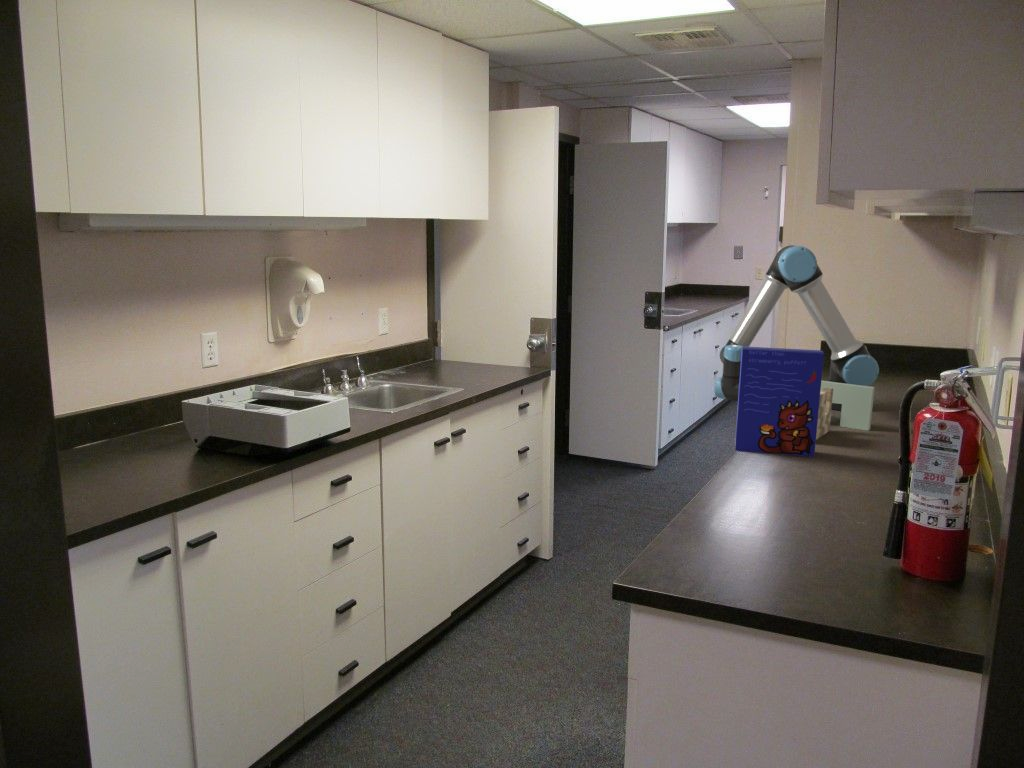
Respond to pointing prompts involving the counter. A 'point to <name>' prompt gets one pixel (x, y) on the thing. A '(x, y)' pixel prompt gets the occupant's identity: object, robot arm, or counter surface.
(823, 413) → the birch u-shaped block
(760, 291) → the robot arm
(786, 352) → the cereal box
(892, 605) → the counter surface
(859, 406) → the sage board
